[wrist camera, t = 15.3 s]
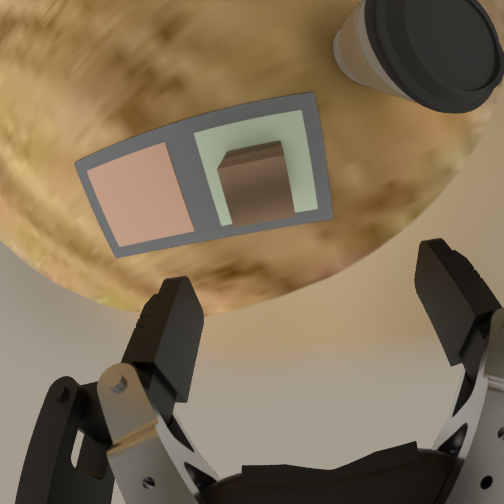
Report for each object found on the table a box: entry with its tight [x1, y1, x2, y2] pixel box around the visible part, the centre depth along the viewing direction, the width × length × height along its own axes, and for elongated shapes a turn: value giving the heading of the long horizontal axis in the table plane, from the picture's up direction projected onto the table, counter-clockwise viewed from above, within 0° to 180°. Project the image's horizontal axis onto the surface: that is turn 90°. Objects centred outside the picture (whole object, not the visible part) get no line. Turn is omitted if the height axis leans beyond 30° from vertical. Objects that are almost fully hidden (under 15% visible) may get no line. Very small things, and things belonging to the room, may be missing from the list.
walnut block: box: [217, 140, 296, 228], centre depth 24 cm, size 5×5×6 cm
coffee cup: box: [333, 0, 504, 114], centre depth 13 cm, size 9×9×15 cm
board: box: [74, 92, 333, 258], centre depth 28 cm, size 13×26×1 cm, turn 103°
